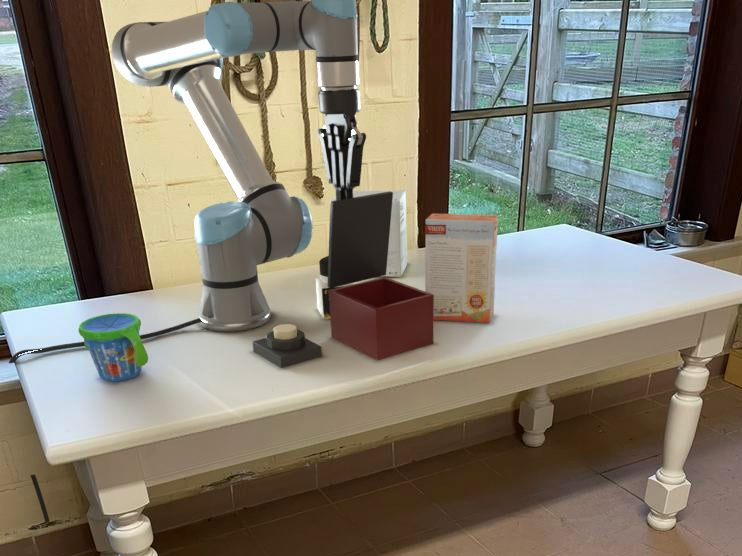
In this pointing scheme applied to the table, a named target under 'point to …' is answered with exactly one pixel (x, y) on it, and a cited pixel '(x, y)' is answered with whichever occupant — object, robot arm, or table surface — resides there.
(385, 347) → the dark red box
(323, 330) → the table surface
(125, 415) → the table surface
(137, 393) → the table surface
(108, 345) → the snack cup
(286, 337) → the button
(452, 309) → the cracker box
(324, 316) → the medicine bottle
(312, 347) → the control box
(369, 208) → the dark grey lid
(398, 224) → the supplement box
